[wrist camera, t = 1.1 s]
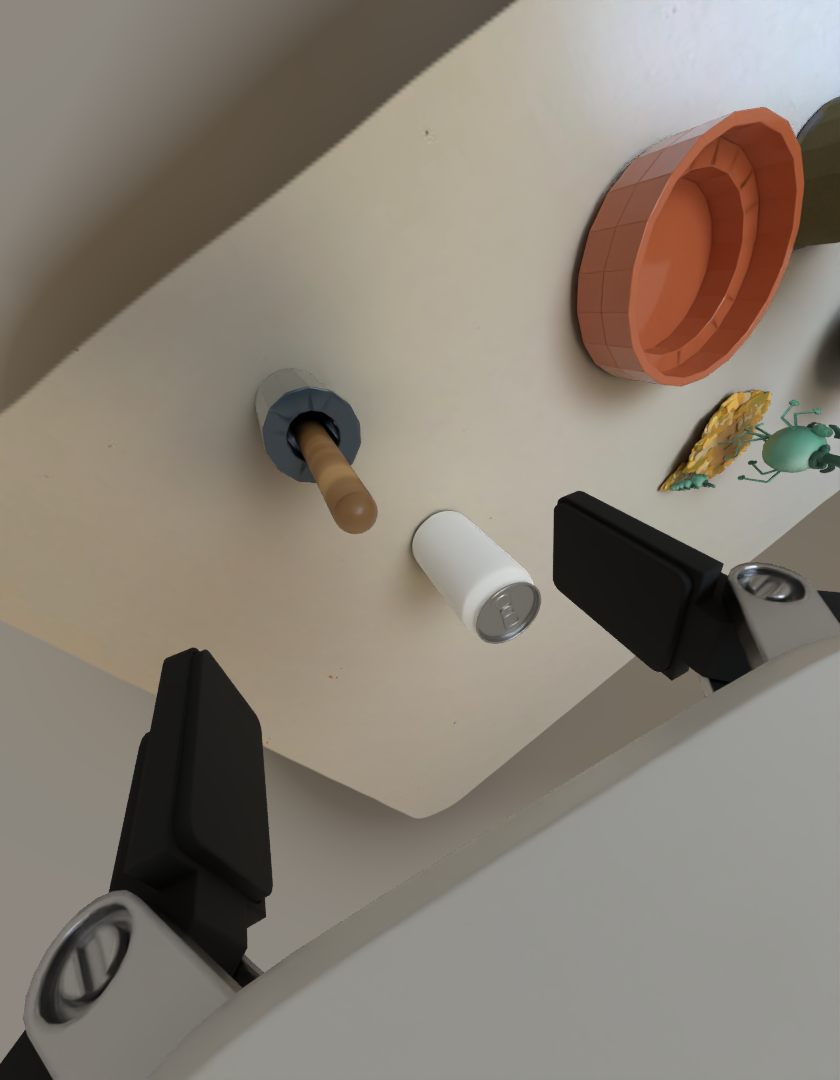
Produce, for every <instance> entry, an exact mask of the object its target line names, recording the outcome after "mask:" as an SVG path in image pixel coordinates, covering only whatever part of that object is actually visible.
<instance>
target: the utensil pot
mask: <svg viewBox="0 0 840 1080" xmlns="http://www.w3.org/2000/svg"><path fill="white" fill-rule="evenodd" d="M255 408H256V413H257V419H258V423H259V427H260V431H261V435H262V439H263V443H264V447H265V451H266V453H267V455H268V456H269V458H270V459H271V460H272V462H273V463H274V464H275V466H276V467H277V469H278V470H280V471H281V472H282V473H284V474H286V475H288V476H290V477H291V478H293V479H295V480H297V481H300V482H311V483H316V481H315V479H314V477H313V474H312V472H311V470H310V468H309V466H308V464H307V462H306V460H305V458H304V456H303V454H302V452H301V449H300V447H299V445H298V443H297V441H296V439H295V437H294V435H293V433H292V431H291V429H290V427H289V426H290V423H291V422H292V421H293V420H294V419H295V418H296V417H297V416H298V415H299V414H301V413H304V412H308V411H313V412H314V414H315V415H316V417H317V418H318V420H319V421H320V422H321V424H322V425H323V427H324V428H325V430H326V431H327V433H328V434H329V435H330V437H331V438H332V440H333V441H334V443H335V444H336V446H337V447H338V449H339V450H340V451H341V453H342V454H343V456H344V457H345V459H346V460H347V462H348V463H349V464H350V465H351V464H352V463H353V462H354V459H355V457H356V455H357V452H358V450H359V447H360V444H361V437H360V424H359V421H358V419H357V417H356V415H355V413H354V411H353V409H352V408H351V406H350V405H349V403H348V402H346V401H345V400H344V399H343V398H341V397H340V396H339V395H338V394H336V393H335V392H334V391H333V390H331V389H330V388H329V387H328V386H326V385H325V384H324V383H323V382H321V381H320V380H319V379H317V378H316V377H315V376H313V375H312V374H311V373H308V372H306V371H303V370H299V369H282V370H279V371H276V372H274V373H272V374H271V375H269V376H268V377H267V378H266V379H265V380H264V381H263V382H262V383H261V385H260V387H259V389H258V391H257V394H256V399H255Z"/></svg>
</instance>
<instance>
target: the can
mask: <svg viewBox="0 0 840 1080" xmlns="http://www.w3.org/2000/svg"><path fill="white" fill-rule="evenodd" d="M412 551H413V555H414V557H415V559H416V561H417V562H418V564H419V565H420V566H421V568H422V569H423V571H424V572H425V573H426V575H427V576H428V577H429V579H430V580H431V582H432V583H433V584H434V586H435V587H436V588H437V590H438V591H439V592H440V594H441V595H442V596H443V598H444V599H445V601H446V602H447V603H448V605H449V606H450V607H451V609H452V610H453V611H454V613H455V614H456V615H457V617H458V618H459V619H460V621H461V622H462V623H463V624H464V626H465V627H466V628H467V629H468V630H469V631H471V632H473V633H475V634H477V635H479V637H480V638H481V639H482V640H483V641H485V642H488V643H493V644H497V643H503V642H506V641H509V640H511V639H513V638H515V637H516V636H518V635H519V634H521V633H522V632H523V631H524V630H526V629H527V628H528V627H529V625H530V624H531V623H532V622H533V620H534V619H535V617H536V616H537V614H538V612H539V609H540V605H541V595H540V592H539V590H538V589H537V587H535V586H534V584H533V581H532V578H531V576H530V575H529V574H528V572H527V571H526V570H525V569H524V568H523V567H522V566H520V565H519V564H518V563H517V562H516V561H515V560H514V559H513V558H512V557H511V556H509V555H508V554H507V553H506V552H505V551H504V550H503V549H502V548H500V547H499V546H498V545H497V544H496V543H495V542H494V541H493V540H491V539H490V538H489V537H488V536H487V535H486V534H485V533H484V532H482V531H481V530H480V529H479V528H478V527H477V526H476V525H474V524H473V523H472V522H471V521H470V520H469V519H467V518H466V517H465V516H464V515H462V514H461V513H458V512H455V511H443V512H439V513H436V514H434V515H433V516H431V517H430V518H428V519H427V520H426V521H425V522H424V523H423V524H422V525H421V526H420V527H419V528H418V530H417V532H416V534H415V536H414V539H413V543H412Z"/></svg>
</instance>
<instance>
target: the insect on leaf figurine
mask: <svg viewBox="0 0 840 1080" xmlns="http://www.w3.org/2000/svg"><path fill="white" fill-rule="evenodd" d="M771 396H772V394H771V393H770V392H766V393H765V394H764V392H763V391H762V390H759V391H758V390H757V391H756V390H752V391H750V392H745V393H744V392H738V393H733V394H732V395H731V396H730V397H729V398H728V399H727V400H726V401H725V402H724V403H723V404H722V405H721V406H720V409H719V410H718V411H717V412H716V413H715V414H714V415H713V416H712V417H711V419H710V421H709V423H708V424H707V425H706V427H705V429H704V432H703V434H702V436H701V437H702V439H701V440H699V442H697V443H696V445H695V447H694V448H693V449H692V453H691V454H690V456H689V461H688V462H686V463H684V462H683V463H680V464H679V466H680V467H678V469H677V470H676V472H674V473H672V474H671V475H670V476H669V478H668V479H666V481H665V482H664V484H663V486H662V487H661V488H660V491H663V490H664V491H667V490H670V489H671V491H675V490H678V491H680V490H685V489H686V490H690V488H693V487H694V489H695V488H696V489H699V487H703V486H704V487H707V485H708V486H709V487H713V488H715V487H716V486H715V485H713V484H711V483H708V480H709V479H711V478H712V477H713V476H715V475H716V474H720V473H721V472H722V471H723V470H724V468H725V467H727V466H729V465H730V464H731V463H732V462H734V461H735V460H736V459H737V458H738V457H739V456H740V455H741V453H742V452H745V451H746V449H747V447H748V446H749V445H750V442H751V441H757V440H764V441H765V443H764V445H763V451H762V457H763V460H764V462H765V463H766V464H767V465H769V466H770V467H772V468H773V469H775V470H772V471H769V472H766V473H762V472H761V471H760V470H759V469H758V468H757V467H756V466H755V465H754V464H756V463H757V461H749V462H748V464H749V465H753V466H754V468H755V469H756V470H757V471H758V472H759V473H760V474H762V475H765V474H768V473H772V472H775V471H778V472H777V473H776V474H775V475H773V476H772V477H771V478H770V479H769V480H768V481H762V480H755V479H748V478H745V476H744V475H743V476H739V477H738V479H739V480H743V479H745V480H751V481H758V482H764V483H767V482H770V481H771V480H772V479H773V478H774V477H775V476H777V475H778V474H779V473H780V472H789V473H795V472H801V471H804V470H807V469H810V468H812V469H824V468H826V466H827V464H828V467H827V468H826V469H824V470H820V471H819V472H821V473H828V472H831V471H833V470H834V469H835V466H836V467H839V468H840V456H837V455H833V454H830V453H829V451H830V446H829V445H828V444H827V442H826V439H825V437H830V436H831V435H832V434H833V430H834V432H835V436H834V438H838V439H840V428H839V427H837V426H836V425H829V426H827V425H824V424H821V423H818V425H814V424H816V422H812V423H811V424H809V425H808V426H807V427H804V426H797V416H796V414H805V413H813V412H814V413H815V414H820V413H821V410H820V409H819V408H816V409H813V411H806V412H797V413H794V424H795V426H792V425H791V424H790V423H789V422H788V421H787V420H785V419H784V418H783V417H784V416H785V415H786V414H787V412H788V411H789V410H790V409H791V407H792V406H797V405H799V402H797V401H796V400H792V401H790V402H789V404H790V405H791V406H790V407H789V408H788V409H787V410H786V412H785V413H784V414H783V415H782V417H781V419H782V420H783V421H784V422H785V423H786V424H787V425H788V426H789V427H787V428H784V429H781V430H779V431H777V432H776V433H774V434H773V435H770V434H768V433H767V432H765V431H763V430H762V429H760V428H758V426H761V425H763V424H764V423H761V424H758V423H757V422H759V421H760V420H762V418H763V414H764V413H766V412H767V410H768V407H769V405H770V404H771V403H770V401H771V400H769V399H770V398H771ZM756 429H758V430H759V431H761V432H763V433H764V434H766V435H763V434H758V433H756V432H755V430H756ZM832 429H833V430H832ZM754 435H756V436H758V437H760V438H756V439H752V438H753V436H754ZM768 438H769V439H768ZM766 439H768V440H766ZM693 472H695V475H694V476H693ZM686 473H687V474H689V473H692V475H691V474H690V475H691V476H692V478H691V479H685V478H684V477H685V475H686ZM683 479H684V480H683ZM707 479H708V480H707Z"/></svg>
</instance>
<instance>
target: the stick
mask: <svg viewBox="0 0 840 1080" xmlns="http://www.w3.org/2000/svg"><path fill="white" fill-rule="evenodd" d="M289 427H290V429H291V431H292V433H293V435H294V437H295V439H296V441H297V443H298V445H299V447H300V449H301V452H302V454H303V456H304V458H305V460H306V462H307V464H308V466H309V468H310V470H311V472H312V474H313V477H314V479H315V481H316V483H317V485H318V487H319V489H320V491H321V493H322V495H323V497H324V499H325V502H326V504H327V506H328V508H329V510H330V512H331V514H332V516H333V518H334V520H335V522H336V524H337V525H338V526H339V528H341V529H342V530H343V531H345V532H347V533H351V534H360V533H363V532H366V531H367V530H369V529H370V528H371V527H372V526H373V525H374V523H375V521H376V519H377V513H378V511H377V505H376V503H375V501H374V499H373V498H372V496H371V495H370V493H369V492H368V490H367V489H366V488H365V486H364V485H363V483H362V482H361V480H360V479H359V477H358V476H357V475H356V473H355V472H354V470H353V469H352V467H351V466H350V464H349V463H348V462H347V460H346V459H345V457H344V456H343V454H342V453H341V451H340V450H339V449H338V447H337V446H336V444H335V443H334V441H333V440H332V438H331V437H330V435H329V434H328V433H327V431H326V430H325V428H324V427H323V425H322V424H321V422H320V421H319V420H318V418H317V417H316V415H315V414H314V412H313V411H308V412H304V413H301V414H299V415H298V416H297V417H296V418H295V419H294V420H293V421H292V422H291V423H290V426H289Z"/></svg>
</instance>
